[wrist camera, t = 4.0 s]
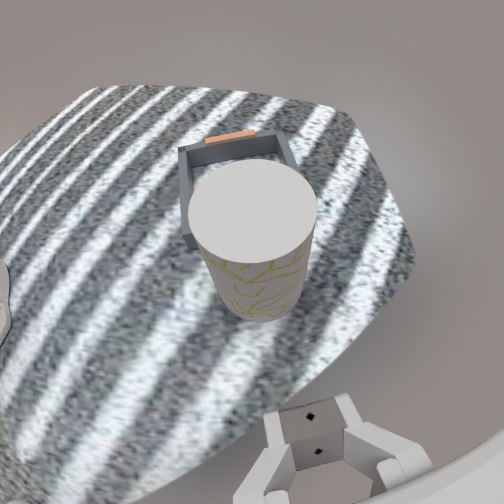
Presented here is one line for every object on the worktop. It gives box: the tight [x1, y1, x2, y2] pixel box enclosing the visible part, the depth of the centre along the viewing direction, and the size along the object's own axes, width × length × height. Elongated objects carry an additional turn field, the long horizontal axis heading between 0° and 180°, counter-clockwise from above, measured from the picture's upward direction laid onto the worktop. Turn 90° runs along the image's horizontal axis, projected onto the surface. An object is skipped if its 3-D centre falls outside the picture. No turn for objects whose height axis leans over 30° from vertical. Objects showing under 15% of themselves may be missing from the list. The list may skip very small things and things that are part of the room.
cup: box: [188, 159, 317, 322], centre depth 24 cm, size 8×8×12 cm
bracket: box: [178, 128, 301, 250], centre depth 34 cm, size 13×13×4 cm
